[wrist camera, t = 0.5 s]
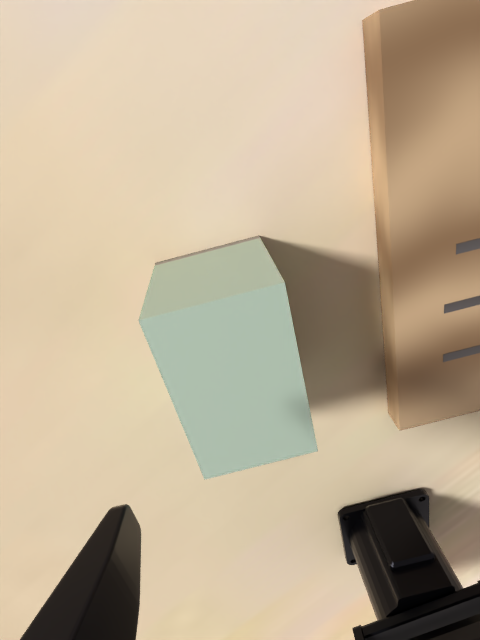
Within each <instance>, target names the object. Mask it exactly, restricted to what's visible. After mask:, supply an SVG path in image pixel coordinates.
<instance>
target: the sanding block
mask: <svg viewBox="0 0 480 640" xmlns="http://www.w3.org/2000/svg"><path fill="white" fill-rule="evenodd" d="M139 323H140V325H141V328H142V330H143V332H144V335H145V337H146V340H147V342H148V344H149V347H150V349H151V352H152V354H153V356H154V359H155V361H156V364H157V366H158V368H159V371H160V373H161V376H162V378H163V380H164V383H165V385H166V388H167V390H168V393H169V395H170V397H171V400H172V402H173V405H174V407H175V409H176V412H177V414H178V417H179V419H180V421H181V424H182V426H183V429H184V431H185V433H186V436H187V438H188V441H189V443H190V445H191V448H192V450H193V453H194V455H195V457H196V460H197V462H198V465H199V467H200V469H201V472H202V474H203V477H204V479H209V478H213V477H217V476H221V475H225V474H229V473H233V472H237V471H241V470H245V469H248V468H252V467H256V466H260V465H264V464H268V463H272V462H276V461H280V460H284V459H288V458H292V457H296V456H300V455H304V454H308V453H312V452H316V451H318V449H317V444H316V439H315V434H314V429H313V423H312V418H311V413H310V408H309V403H308V398H307V393H306V388H305V383H304V378H303V372H302V367H301V362H300V357H299V352H298V347H297V342H296V337H295V332H294V327H293V321H292V316H291V311H290V306H289V301H288V296H287V291H286V286H285V282H284V280H283V278H282V276H281V274H280V273H279V271H278V269H277V267H276V265H275V264H274V262H273V260H272V258H271V256H270V255H269V253H268V251H267V249H266V247H265V246H264V244H263V242H262V240H261V238H260V236H255V237H252V238H248V239H244V240H240V241H236V242H233V243H229V244H225V245H221V246H217V247H214V248H210V249H206V250H202V251H199V252H195V253H191V254H187V255H183V256H180V257H176V258H172V259H168V260H164V261H161V262H157V263H155V266H154V269H153V273H152V276H151V280H150V283H149V286H148V290H147V293H146V297H145V300H144V304H143V307H142V310H141V314H140V317H139Z"/></svg>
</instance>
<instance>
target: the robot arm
mask: <svg viewBox="0 0 480 640" xmlns="http://www.w3.org/2000/svg"><path fill="white" fill-rule="evenodd" d="M338 519H339V525H340V530H341V536H342V541H343V547H344V552H345V558H346V561H347V563H348V564H349V565H355V564H357V565H358V568H359V571H360V573H361V576H362V579H363V582H364V584H365V587H366V590H367V593H368V595H369V598H370V601H371V604H372V606H373V609H374V612H375V615H376V617H377V620H378V621H375V622H373V623H370V624H367V625H365V626H361V625H359V626H357V627H354V628H353V633H354V637H355V640H480V580H479V581H478V583H477V584H474V585H472V586H469V587H466V588H464V589H463V587H462V585H461V583H460V582H459V580H458V578H457V576H456V575H455V573H454V571H453V569H452V568H451V566H450V564H449V562H448V561H447V559H446V557H445V555H444V554H443V552H442V550H441V548H440V547H439V545H438V543H437V541H436V540H435V538H434V536H433V534H432V533H431V531H430V529H429V496H428V494H427V493H426V491H425V490H416V491H412V492H408V493H404V494H400V495H396V496H392V497H388V498H384V499H380V500H376V501H372V502H368V503H364V504H360V505H356V506H352V507H348V508H344V509H341V510H340V511H339V512H338ZM140 567H141V529H140V525H139V523H138V521H137V519H136V517H135V515H134V513H133V511H132V509H131V508H130V506H129V505H127V504H125V505H120V506H116V507H112V508H111V509H110V510H109V511H108V512H107V514H106V515H105V517H104V518H103V519H102V521H101V522H100V524H99V525H98V527H97V528H96V530H95V531H94V533H93V534H92V535H91V537H90V538H89V540H88V541H87V543H86V544H85V546H84V547H83V549H82V550H81V551H80V553H79V554H78V556H77V557H76V559H75V560H74V562H73V563H72V565H71V566H70V567H69V569H68V570H67V572H66V573H65V575H64V576H63V578H62V579H61V581H60V582H59V583H58V585H57V586H56V588H55V589H54V591H53V592H52V594H51V595H50V597H49V598H48V600H47V601H46V602H45V604H44V605H43V607H42V608H41V610H40V611H39V613H38V614H37V616H36V617H35V618H34V620H33V621H32V623H31V624H30V626H29V627H28V629H27V630H26V632H25V633H24V634H23V636H22V637H21V639H20V640H136V632H137V624H138V615H139V604H140Z"/></svg>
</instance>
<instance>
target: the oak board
mask: <svg viewBox="0 0 480 640" xmlns="http://www.w3.org/2000/svg"><path fill="white" fill-rule="evenodd" d="M362 21H363V36H364V52H365V67H366V82H367V97H368V112H369V127H370V142H371V157H372V172H373V188H374V203H375V218H376V233H377V248H378V263H379V278H380V293H381V308H382V323H383V339H384V354H385V369H386V384H387V399H388V413H389V415H390V417H391V418H392V420H393V421H394V423H395V424H396V426H397V427H398V429H399V430H404V429H408V428H412V427H416V426H420V425H424V424H428V423H432V422H436V421H440V420H444V419H448V418H452V417H456V416H460V415H464V414H468V413H472V412H476V411H480V0H414V1H410V2H406V3H403V4H399V5H396V6H392V7H388V8H385V9H381V10H378V11H377V12H375V13H373V14H372V15H370V16H369V17H367V18H365V19H364V20H362Z"/></svg>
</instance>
